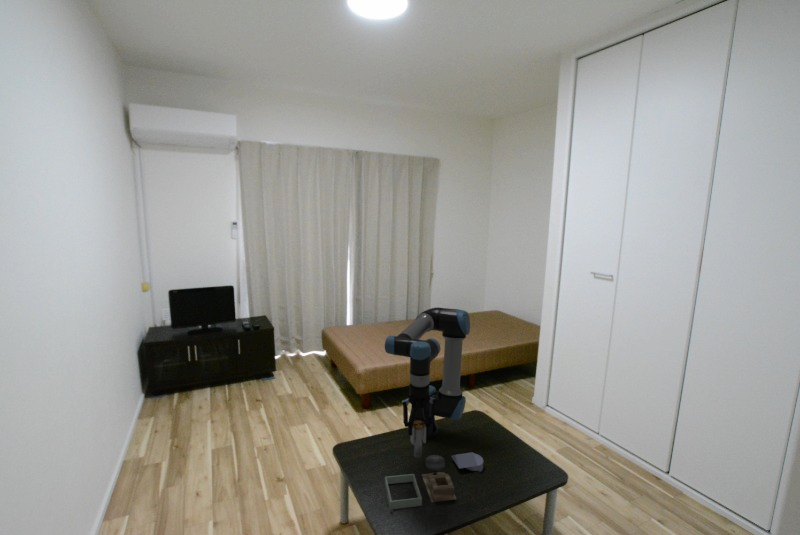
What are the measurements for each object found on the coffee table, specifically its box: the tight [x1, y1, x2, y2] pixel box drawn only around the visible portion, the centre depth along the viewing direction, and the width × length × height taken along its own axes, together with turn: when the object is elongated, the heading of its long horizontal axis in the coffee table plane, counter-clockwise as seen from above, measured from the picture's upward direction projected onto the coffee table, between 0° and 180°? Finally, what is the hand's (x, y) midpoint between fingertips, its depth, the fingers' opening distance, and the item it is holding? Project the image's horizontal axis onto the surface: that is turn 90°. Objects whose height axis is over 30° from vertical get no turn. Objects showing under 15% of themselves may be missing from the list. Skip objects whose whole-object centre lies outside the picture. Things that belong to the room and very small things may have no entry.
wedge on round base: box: [451, 452, 484, 473], centre depth 163 cm, size 9×7×13 cm
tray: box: [384, 473, 423, 513], centre depth 144 cm, size 14×12×4 cm
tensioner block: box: [421, 454, 457, 503], centre depth 149 cm, size 17×10×9 cm, turn 10°
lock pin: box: [413, 420, 424, 459], centre depth 142 cm, size 4×4×13 cm
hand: (418, 441), depth 142 cm, fingers closed on lock pin, 4 cm apart
